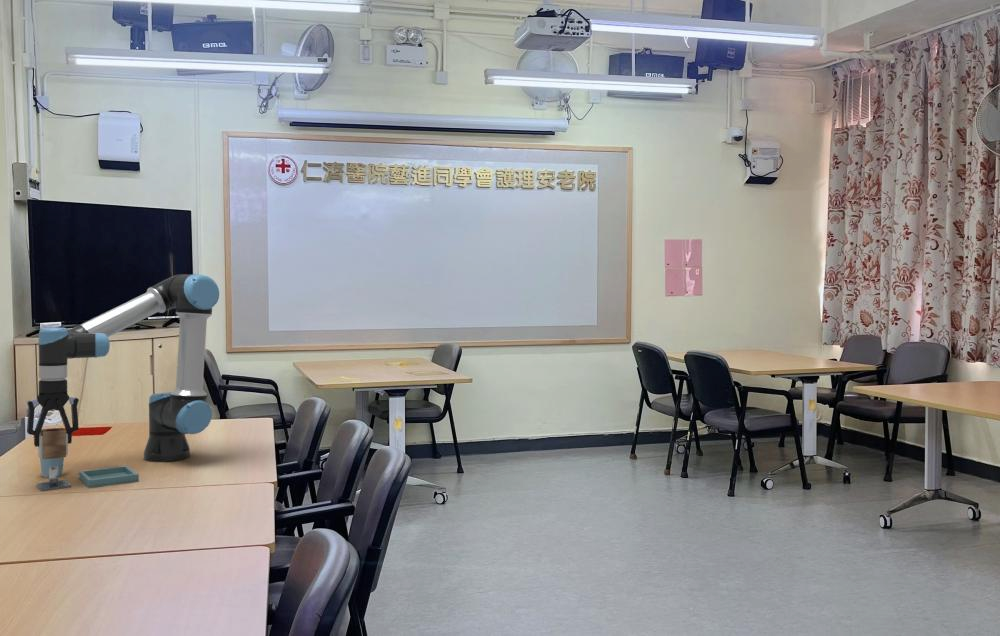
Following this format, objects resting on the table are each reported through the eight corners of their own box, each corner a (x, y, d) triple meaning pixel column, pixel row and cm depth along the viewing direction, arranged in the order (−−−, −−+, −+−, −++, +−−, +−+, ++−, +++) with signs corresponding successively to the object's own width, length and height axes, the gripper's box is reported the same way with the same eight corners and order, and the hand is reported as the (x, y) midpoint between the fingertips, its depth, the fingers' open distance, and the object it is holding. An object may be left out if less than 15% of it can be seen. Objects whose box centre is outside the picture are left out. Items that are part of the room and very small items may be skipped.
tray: (127, 472, 260) (127, 465, 260) (138, 481, 249) (138, 474, 249) (79, 478, 251) (79, 471, 251) (88, 488, 240) (88, 480, 240)
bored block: (62, 453, 245) (62, 427, 245) (66, 457, 241) (66, 430, 240) (39, 455, 242) (39, 429, 241) (43, 459, 237) (43, 432, 237)
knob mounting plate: (66, 481, 247) (66, 463, 247) (71, 487, 241) (71, 468, 241) (36, 485, 242) (36, 466, 242) (40, 491, 236) (40, 471, 236)
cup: (65, 477, 253) (64, 444, 252) (37, 479, 250) (36, 446, 249) (67, 472, 260) (66, 440, 259) (39, 474, 256) (39, 441, 256)
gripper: (85, 376, 249) (85, 450, 250) (14, 379, 237) (14, 457, 238) (90, 378, 243) (90, 454, 244) (18, 382, 231) (18, 461, 232)
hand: (53, 455), depth 241 cm, fingers closed on bored block, 6 cm apart
